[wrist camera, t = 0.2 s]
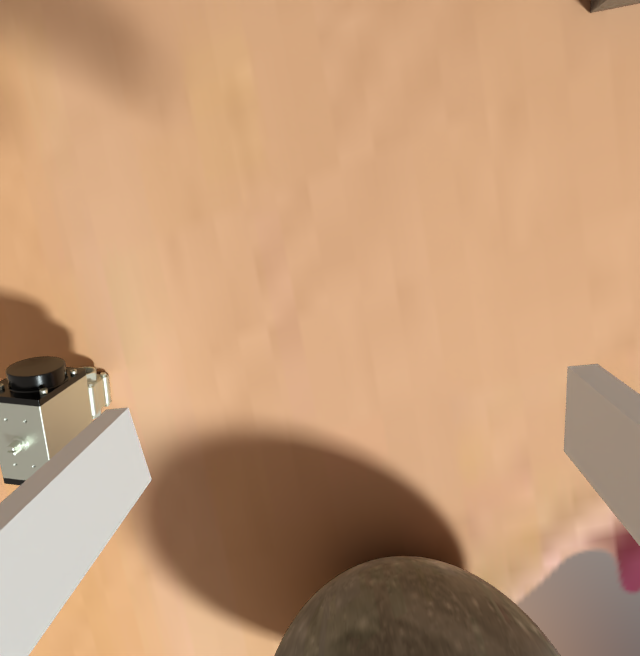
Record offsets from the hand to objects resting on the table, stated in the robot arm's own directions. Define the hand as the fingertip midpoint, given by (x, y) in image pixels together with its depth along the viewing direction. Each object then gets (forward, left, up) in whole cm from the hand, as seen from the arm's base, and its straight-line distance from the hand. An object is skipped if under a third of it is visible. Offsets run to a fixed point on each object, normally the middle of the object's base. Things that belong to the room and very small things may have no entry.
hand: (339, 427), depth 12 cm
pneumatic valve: (+9, -30, -28) cm, 42 cm away
